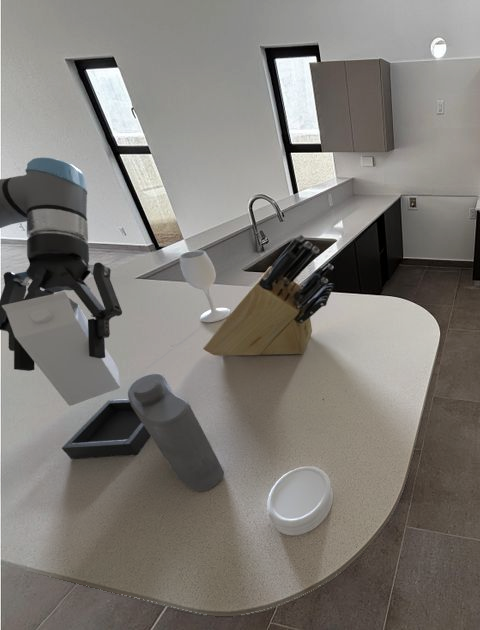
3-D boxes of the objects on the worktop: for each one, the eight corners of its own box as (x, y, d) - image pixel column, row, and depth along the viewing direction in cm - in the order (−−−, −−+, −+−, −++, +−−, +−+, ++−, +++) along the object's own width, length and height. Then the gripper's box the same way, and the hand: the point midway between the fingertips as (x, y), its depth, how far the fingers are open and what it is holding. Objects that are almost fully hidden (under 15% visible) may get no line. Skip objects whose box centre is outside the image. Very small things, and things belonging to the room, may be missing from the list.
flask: (161, 454, 64) (110, 375, 53) (193, 434, 68) (152, 357, 57) (194, 502, 56) (142, 421, 46) (229, 476, 60) (188, 396, 49)
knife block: (338, 355, 90) (320, 245, 74) (205, 358, 89) (158, 247, 73) (344, 332, 99) (330, 230, 83) (225, 334, 98) (187, 231, 82)
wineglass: (197, 315, 108) (172, 253, 97) (226, 306, 113) (205, 246, 102) (204, 325, 102) (178, 262, 91) (234, 316, 107) (212, 254, 96)
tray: (70, 459, 63) (61, 448, 61) (115, 410, 73) (108, 400, 71) (137, 455, 64) (129, 444, 62) (172, 407, 74) (166, 397, 72)
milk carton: (71, 385, 63) (5, 297, 53) (118, 369, 67) (65, 284, 57) (69, 407, 58) (-3, 315, 48) (120, 388, 62) (63, 299, 52)
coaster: (266, 494, 57) (261, 482, 55) (323, 467, 61) (320, 455, 60) (277, 550, 50) (272, 538, 48) (341, 515, 54) (339, 503, 52)
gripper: (141, 243, 67) (150, 352, 62) (0, 257, 60) (-2, 379, 56) (118, 224, 59) (126, 346, 55) (-44, 238, 53) (-51, 376, 49)
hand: (61, 363), depth 55 cm, fingers closed on milk carton, 9 cm apart
